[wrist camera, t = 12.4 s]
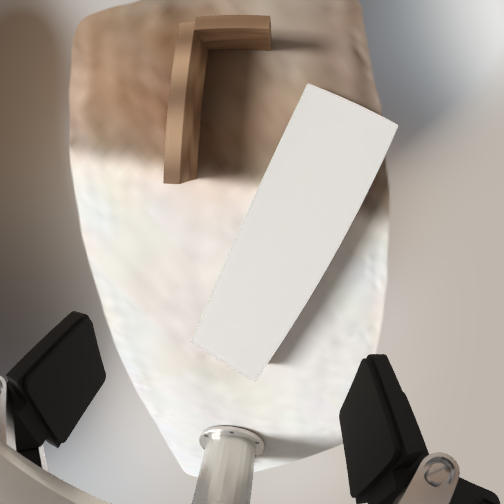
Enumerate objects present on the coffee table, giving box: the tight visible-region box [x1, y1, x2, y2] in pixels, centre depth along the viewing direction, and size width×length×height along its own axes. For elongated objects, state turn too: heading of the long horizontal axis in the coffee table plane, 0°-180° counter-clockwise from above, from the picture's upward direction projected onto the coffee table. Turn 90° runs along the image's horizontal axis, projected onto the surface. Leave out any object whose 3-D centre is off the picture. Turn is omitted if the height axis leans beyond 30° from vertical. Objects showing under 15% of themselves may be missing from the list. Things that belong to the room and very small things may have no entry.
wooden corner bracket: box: [164, 15, 272, 184], centre depth 25 cm, size 17×9×6 cm, turn 176°
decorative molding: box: [191, 84, 398, 381], centre depth 32 cm, size 34×5×10 cm
